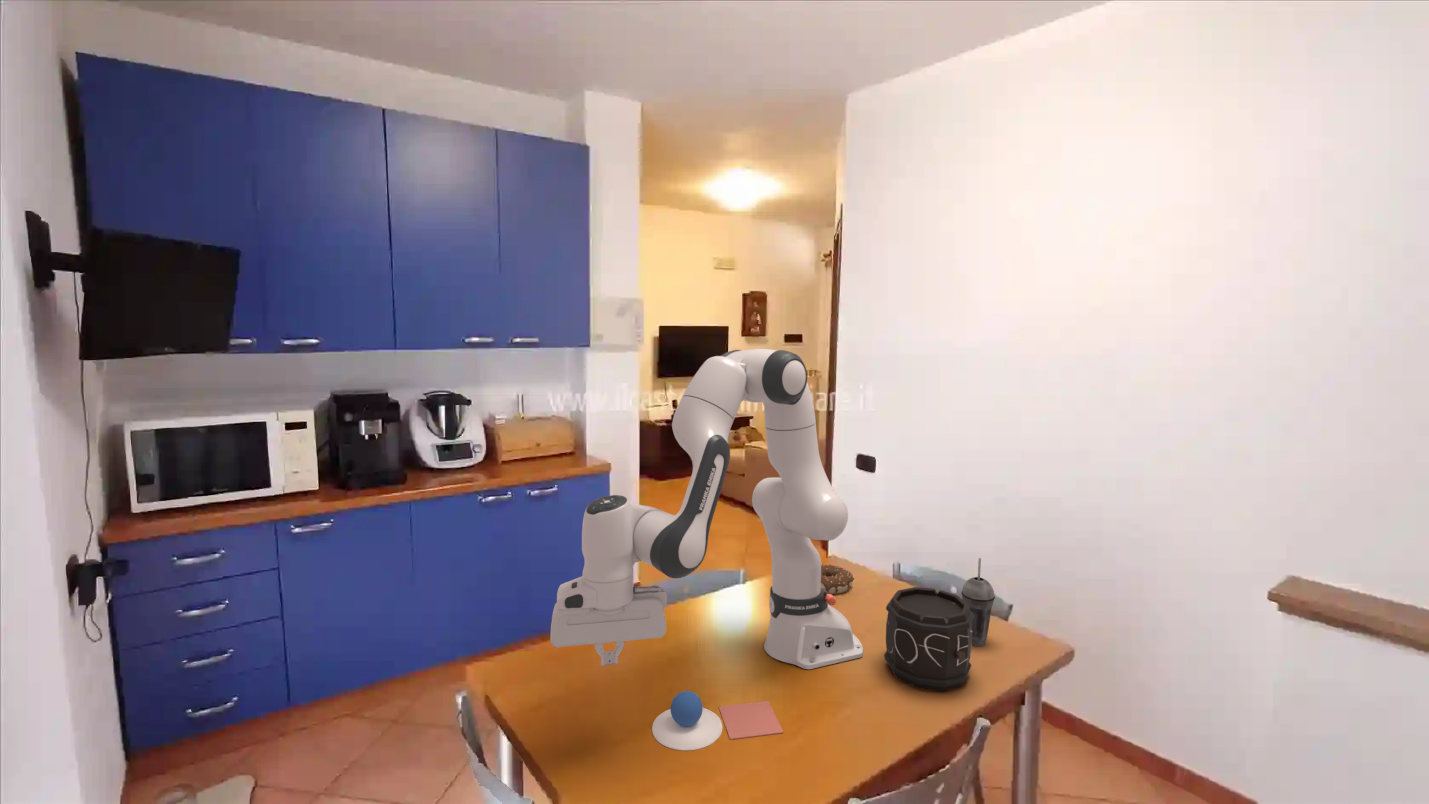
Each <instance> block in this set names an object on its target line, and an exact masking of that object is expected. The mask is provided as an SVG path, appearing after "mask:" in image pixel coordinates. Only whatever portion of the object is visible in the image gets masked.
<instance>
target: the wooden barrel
mask: <svg viewBox="0 0 1429 804" xmlns="http://www.w3.org/2000/svg"><path fill="white" fill-rule="evenodd" d="M885 609H886V611H887V618H886V624H885V649H886V652H885V654H884V655H883V657H884V660H885V662H886V663H887V664H888V667H889V668H890V670H891V671H892V673H893V674H894V676H895V677H896V679H897V680H900V681H902V682H904V683H905V684H908V685H909V686H913V687H914V688H916V689H919V690H920V689H921V690H925V691H926V690H928V691H934V692H936V691H937V692H946V691H949V690H953V689H956V688H960V687H962V686H963V683H964V682H966V681H967V678H968V676H969V674H970V673H969V672H970V670H971V667H972V664H971V661H970V659H971V654H972V647H973V645H972V621H973V618H974V614H973V612H971V611H970V607H969V605H968V604H967V603H966V602H964V601H963V599H962V598H961V597H960V596H959V595H957V594H954V593H951V592H949V591H945V590H941V589H939V591H938V592H937V590H936V589H935V588H931V587H930V588H929V587H920V586H913V587H907V588H903V589H899V590H897V591H896V592H895V593H894V595H893V596H892V597H891V598H890V600H889V602H888V603H887V604H886V607H885Z"/></svg>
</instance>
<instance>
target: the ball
mask: <svg viewBox="0 0 1429 804" xmlns="http://www.w3.org/2000/svg"><path fill="white" fill-rule="evenodd" d="M703 708H704V706H703V702H702V700H701V697H700V696H699V695H698V694H697V693H696V692H693V691H691V690H683V691H681V692H678V693H677V694H676V695H675V696H673V699H672V700H671V703H670V709H671V715H672V717H673V719H674V721H675V722H676V723H678V724H679V725H681V726H691V725H693V724H695V723H696V722H697V721H698V720H699V719H700V717H701V715H702V711H703Z"/></svg>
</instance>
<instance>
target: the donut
mask: <svg viewBox="0 0 1429 804" xmlns="http://www.w3.org/2000/svg"><path fill="white" fill-rule="evenodd" d="M854 580H855V578H854V577H853V574H852V573H851V571H850V570H849V569H845V568H843V567H842V566H839V565H832V564H828V563H827V564H822V563H821V587H822V588H823V589H825V590H826V591H827V592H828V594H831V595H836V594H843V593H845V592H847V591H848V590H849V589H850V588H851V587H852V584H853V582H854Z"/></svg>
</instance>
